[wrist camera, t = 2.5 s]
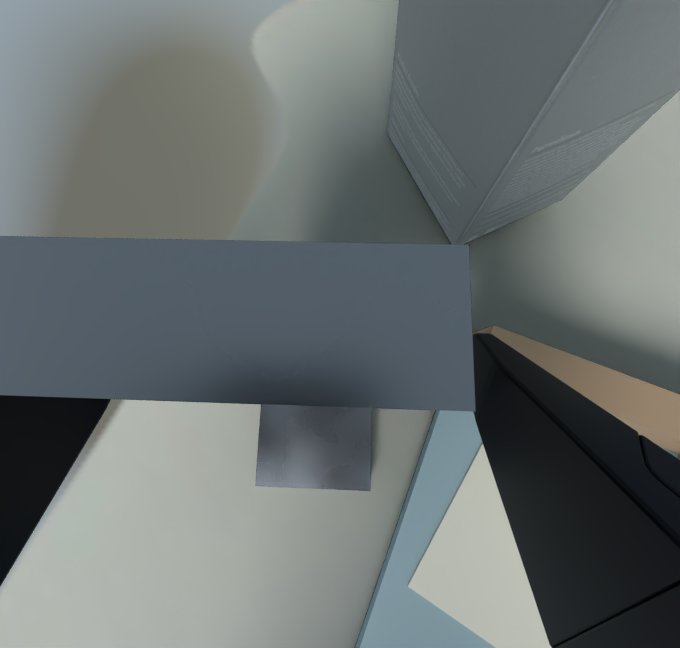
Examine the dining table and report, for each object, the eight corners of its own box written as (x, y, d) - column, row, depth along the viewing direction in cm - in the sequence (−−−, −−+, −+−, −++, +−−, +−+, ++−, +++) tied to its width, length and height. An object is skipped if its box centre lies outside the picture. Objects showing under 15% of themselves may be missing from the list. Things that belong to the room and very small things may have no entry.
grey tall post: (368, 481, 15) (506, 1178, 2) (262, 477, 15) (-271, 1097, 2) (370, 353, 16) (467, 245, 3) (271, 350, 16) (-50, 234, 3)
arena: (614, 886, 12) (727, 1099, 8) (324, 736, 13) (316, 870, 9) (707, 431, 15) (821, 447, 11) (460, 337, 16) (493, 325, 12)
